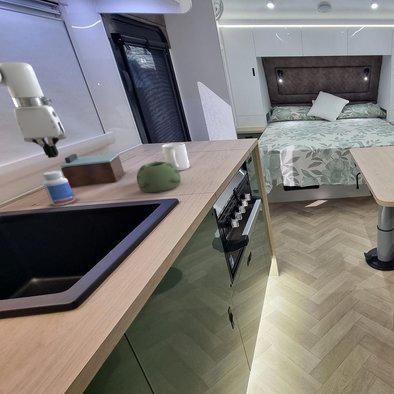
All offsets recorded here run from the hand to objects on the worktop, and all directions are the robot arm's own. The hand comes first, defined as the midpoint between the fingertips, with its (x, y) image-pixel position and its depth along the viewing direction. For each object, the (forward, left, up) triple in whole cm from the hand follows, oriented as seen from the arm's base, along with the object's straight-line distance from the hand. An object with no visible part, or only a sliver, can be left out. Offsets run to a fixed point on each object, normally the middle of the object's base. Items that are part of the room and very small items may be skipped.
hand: (53, 156), depth 103 cm
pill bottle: (+7, -23, -10) cm, 26 cm away
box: (+10, 0, -10) cm, 14 cm away
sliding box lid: (+10, 0, -3) cm, 11 cm away
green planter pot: (+33, -20, -10) cm, 40 cm away
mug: (+37, +1, -10) cm, 39 cm away
